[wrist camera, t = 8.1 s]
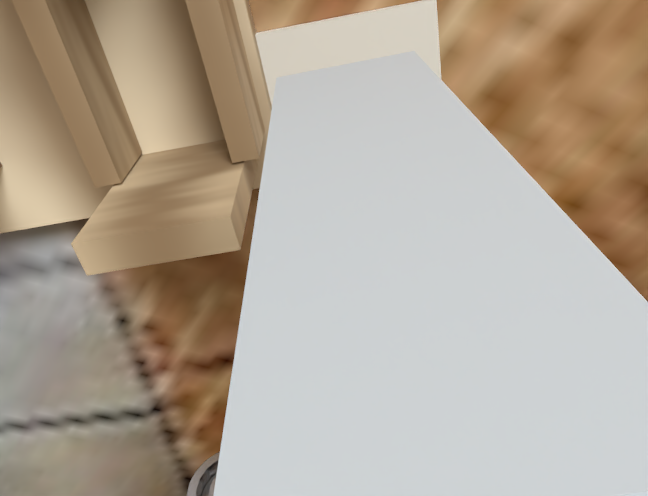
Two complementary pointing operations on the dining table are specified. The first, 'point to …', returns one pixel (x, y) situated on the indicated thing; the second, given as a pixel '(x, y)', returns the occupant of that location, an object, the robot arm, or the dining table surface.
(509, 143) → the dining table surface
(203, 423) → the dining table surface
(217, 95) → the rack
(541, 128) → the dining table surface
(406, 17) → the felt pad
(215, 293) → the dining table surface
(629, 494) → the white rectangular block
